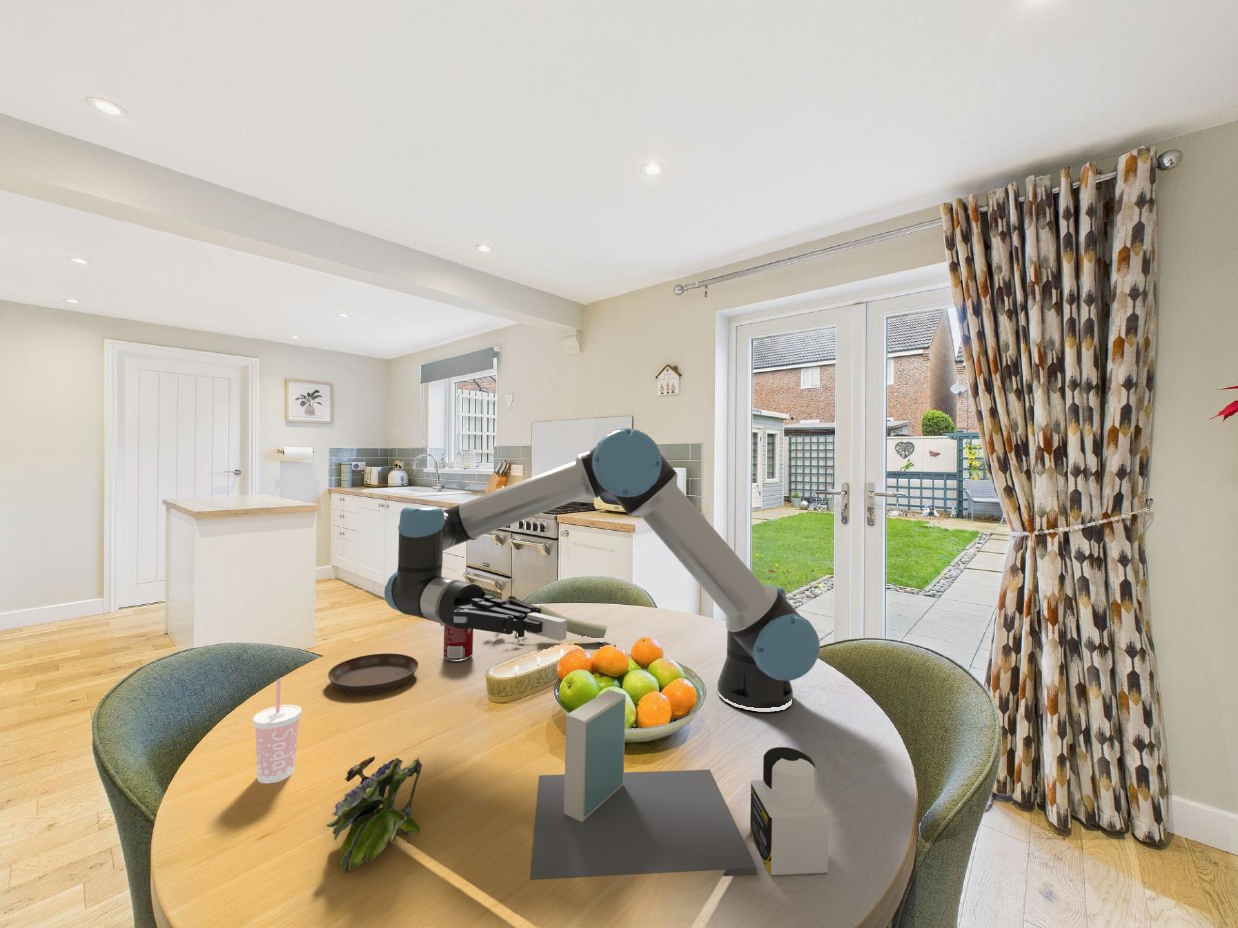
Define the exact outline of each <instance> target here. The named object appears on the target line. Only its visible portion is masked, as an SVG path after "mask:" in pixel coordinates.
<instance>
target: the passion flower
mask: <svg viewBox="0 0 1238 928" xmlns="http://www.w3.org/2000/svg"><path fill="white" fill-rule="evenodd" d="M375 760H376V756H370V757H368V758H366V759H364V760H362V761H360V763H359V764H355V765H354V766H352V767H351V768H349V769H348V770H347V772H346V773H347V774H346V776H345V777H344V780H346V782H350V781H352V780H353V779H354V778H356V777H357V776H359V777H360V779H361V781H360V783H359V785H358V786H356V785H355V786H354V787H353V788H352V789H351V790H350V791H349V792H347V793H346V794H344V798H343V799H341V800H339V801H338V802H337V803H336V804H335V805H334V808H335V811H334V812H333V813H332V814H330V815H331V816H332V815H333V817H335V816H337V817H336V818H335V819H334V820H333V821H330V822H328V823H327V824H326V827H327V828H333V830H332V834H333V835H334V836H333V839H334V840H333V841H337V839H338V837H339V836H340V835H341V833H342V831H344V830H346V829H347V828H348V827H349V826H350V828H349V830H348V832H347V834H346V836H345V838H344V840H343V844H342V847H341V851H340V854H339V865H340V868H341V869H340V870H341V871H342V872H343V873H346V870H347V865H348V871H350V872H351V871H354V870H355V869H357V868H358V867H360V866H361V865H363V863H364V862H371V861H373V860H374V859H375V858H377V857H378V856H379V855H380V854H381V853H382V852H383V850H384V849H386V847H387V846H388V843H390V842H391V843H395V841H396V839H397V834H398V832H399V829H401V830H403V831H404V832H405V833H406V835H408V836H409V835H410V834H419V833H421V827H420V826H419V824H418V823H417V822H416V821H415V819H413V818H412V816H411V815H412V808H413V806H412V805H413V804H412V803H413V798H414V795H415V792H416V787H417V784H418V781H419V777H420V775H421V772H422V767H423V764H422V762H421V761H420V758H419V757H417V758H416V759H414V760H413V761H412V763H411V764H410V765H408V766H406V767H404V768H401V766H402V764H403V760H402V759H400V758H398V757H396V758H393V759H391V760H390V761H388V763H387V762H386V763H383V765H382V766H379V767H378V769H377V770H376V771H375V772H374V773H372V774H371V775H370V776H366V775H365V774H364V772H363V771H364V770H365V769H366V768H367V767H368V766H369V765H370V764H372V763H373V762H374V761H375ZM414 774H416V776H415V780H414V781H413V782H414V783H413V786H412V789H411V793H410V796H409V798H408V801H407V803H406V805H405V806H404V807H403V808H402V809H400V808H396V807H395V799H396V797H397V795H398V793H399V790H400V788H401V786H402V784H404V782H405V781H406V780H407V779H408V778H412V777H413V776H414ZM387 787H388V790H387ZM386 790H387V796H386V797H385V794H386ZM389 841H390V842H389ZM406 842H407V844H409V843H410V841H406Z"/></svg>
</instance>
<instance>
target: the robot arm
mask: <svg viewBox="0 0 1238 928" xmlns="http://www.w3.org/2000/svg"><path fill="white" fill-rule="evenodd" d="M658 447H659V446H658V445H657V443H656V442H655V440H653V439H652V437H650V436H649V435H648V434H646V433H645V432H643V431H641V430H637V429H636V428H635V429H634V428H619V429H616V430H614V431H611V432H609V433H608V434H606V435H604V436H603V437H602V438H601V440H600V441H598V442H597V444H596V446H595V447H594V448H591V449H589V450H587V451H585V452H582V453H579V454H578V455H577V457H576V459H575V461H572V462H570V463H566V464H564V465H561V466H558V467H556V468H553V469H550V470H548V471H545V472H542V473H540V474H538V475H535V476H533V477H529V478H527V479H524V480H521V481H518V482H516V483H514V484H511V485H508V486H505V487H502V488H500V489H498V490H495V491H492V492H490V493H487V494H484V495H482V496H478V497H476V498H473V499H471V500H468V501H466V502H463V503H461V504H458V505H456V506H451V507H450V508H449V507H448V508H446V509H443V508H441V507H440V506H432V505H431V506H430V505H429V506H428V505H417V506H415V505H414V506H406V507H403V508H402V509H401V511H400V515H399V522H398V523H399V524H398V527H397V530H398V550H397V551H398V552H397V553H398V554H397V555H398V557H397V569H396V571H395V572H394V573H393V574H392V575H391V576H390V577H389V578H388V581H387V583H386V585H385V587H384V590H383V591H384V592H383V593H384V594H383V595H384V599H385V601H386V604H388V606H389V607H390V608H392V609H393V610H396V611H397V612H400V613H402V614H404V615H408V616H413V617H417V618H421V619H424V620H428V621H430V622H435V623H437V624H440V626H441V627H444V626H445V625H447V626H450V627H454V628H457V629H461V630H467V629H470V628H471V629H473V630H479V631H484V632H485V631H486V632H491V633H496V634H497V633H498V634H504V635H508V636H509V635H512V634H513V633H514V632H516V633H517V632H518V637H519V638H524V637H525V631H526V633H528V634H532V635H536V636H539V637H543V638H547V639H551V640H554V641H558V642H561V641H563V640H566V639H567V620H565V619H561V618H557V617H552V616H548V615H544V614H541V608H539V606H537V605H533V604H531V603H528V602H525V601H522V600H520V599H517V597H515V596H512V595H510V596H507V598H506V599H505V600H504V599H500V598H496V596H495V597H494V596H489V595H487V594H486V593H485V591H484V589H483V588H482V587H481V586H480V585H478V584H476V583H471V582H467V581H462V580H459V579H454V578H449V577H443V575H442V573H443V555H444V554H443V553H444V551H446V550H447V549H451V548H453V547H455V546H457V545H460V544H464V543H466V542H468V541H471V540H473V539H475V538H479V537H480V536H483V535H485V534H489V533H492V532H494V531H497V530H499V529H502V528H504V527H508V526H510V525H513V524H516V523H519V522H521V521H524V520H527V519H529V518H531V517H534V516H537V515H539V514H542V513H543V514H544V513H545V512H548V511H550V510H554V509H556V508H560V507H561V506H565V505H567V504H570V503H572V502H574V501H578V500H580V499H583V498H586V497H590V498H594V499H597V498H599V497H602V496H605V495H609V494H610V495H611V496H612V497H613V498H614V500H615V501H616V502H617V503H618V505H620V507H621V508H622V509H623V510H624V511H625V513H626V514H627V515H628V516H632V517H633V516H634V517H640V518H641V519H643V521H644V522H646V524H647V525H648V526H649V528H651V530H652V531H653V532H654V533H655V535H656V536H657V537H658V538H659V539H660V540H661V541H662V543H663V544H664V545H665V546H666V547H667V548H668V549H669V551H670V552H671V553H672V554H673V555H674V556H675V557H676V559H677V560H678V561H679V562H680V564H682V566H683V567H684V568H685V569H686V570H687V572H688V573H690V575H691V576H692V577H693V578H694V579H695V580H696V582H697V583H698V584H699V585H700V586H701V588H702V589H703V590H704V591H705V592H706V594H708V596H709V597H710V598H711V599H712V601H713V602H714V603H715V604H716V605H717V607H719V609H720V610H721V611H722V612H723V614H724V615H726V617H725V627H726V630H727V631H726V632H727V633H726V634H727V636H726V637H727V638H726V657H725V661H724V662H723V663H724V664H723V667H722V669H721V672H720V675H719V678H718V680H717V692H718V691H719V693H720V694H721V695H722V696H723V697H724V698H725V699H728V700H729V701H731V702H733V703H736V704H738V705H743V706H746V707H754V708H771V707H780V706H782V705H785V704H786V703H788V702H789V701H791V699H792V698H793V699H794V691H793V687H792V684H791V681H794V680H797V679H800V678H801V677H803V676H805V675H806V674H808V673H809V672H810V671H811V670H812V668H813V667H814V666H815V664H816V662H817V660H818V659H819V655H820V654H819V653H820V647H821V646H820V645H821V643H820V637H819V635H818V633H817V631H816V629H815V627H814V626H813V625H812V623H811V622H810V621H809V619H807V618H805V617H803V616H801V614H800V613H799V612H798V611H797V610H796V609H795V608H794V607H793V606H792V605H791V604H790V602H789V601H788V597H787V593H786V590H785V589H784V587H781V586H777V585H776V586H775V585H768V584H762V583H761V582H760V580H759V579H758V578H757V577H756V575H754V573H753V572H752V571H751V570H750V569H749V568H748V566H747V565H746V564H745V563H744V562H743V561H742V560H741V558H740V557H739V556H738V555H737V554H736V553H735V552H734V550H733V549H732V547H730V545H729V544H728V543H727V542H726V541H725V540H724V538H723V537H722V536H721V535H720V533H718V532H717V531H716V530H715V528H714V527H713V526H712V525H711V523H710V522H709V521H708V520H707V518H705V517H704V515H703V514H702V513H701V512H700V511H699V510H698V509H697V507H696V506H695V505H694V504H693V502H692V501H691V500H690V499H689V498H688V497H687V496H686V495H685V493H684V492H683V491H682V490H681V489H680V487H679V486H678V475H679V474H678V473H677V472H676V470H675V469H674V467H672V465H671V464H670V463H669V462H668V461H667V460H666V458H664V456H663V455H662V454H661V451H660V448H658Z"/></svg>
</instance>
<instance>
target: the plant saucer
mask: <svg viewBox="0 0 1238 928" xmlns="http://www.w3.org/2000/svg"><path fill="white" fill-rule="evenodd" d="M419 665H420V664H419V660H417V659H416V658H415V657H412V656H410V655H408V654H407V655H406V654H401V653H393V652H391V653H386V652H385V653H372V654H366V655H361V656H360V655H359V656H357V657H353V658H349V659H347V660H344V661H341V662H339V663H338V664H337V663H336V665H334V666H333V667H332V668H330V669H329V671H328V673H327V679H329V681H330V682H331V684H333V685H334V687H335V688H337V690H339V691H341V692H343V693H346V694H351V695H370V694H371V695H372V693H373V694H378V693H377V692H379V693H383V691H384V692H387V691H386V690H388V691H390V689H391V690H394V689H397V688H399V687H400V685H401V686H403V685H404V684H405V682H406V683H407V682H408V681H409V680H410V679H411V678H412V677H413V676H414V674H415V673H416V672H417V669H418V668H419ZM402 684H403V685H402ZM396 687H397V688H396ZM393 688H394V689H393Z"/></svg>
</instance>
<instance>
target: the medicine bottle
mask: <svg viewBox="0 0 1238 928" xmlns="http://www.w3.org/2000/svg"><path fill="white" fill-rule="evenodd" d="M762 758H763V764H762V766H763V768H762V770H763V771H762V779H752V780H751V783H750V812H749V814H750V821H749V822H750V823H749V835H750V837H751V839H752V841H753V844H754V845H755V847H756V850H757V852H758V854H759V856H760V858H761V859H762V862H763V864H764V866H765V869H766V870H767V873H768V874H769V875H770V876H791V875H793V876H794V875H812V874H813V875H814V874H827V873H828V871H829V839H830V838H829V837H830V835H829V833H830V831H829V830H830V829H829V827H830V824H829V823H830V814H829V811H828V810H827V809H826V808H825V806H824V805H823V803H822V801H820V799H819V798H818V797H817V795H816V794H815V791H816V790H815V784H816V782H815V781H816V776H815V775H816V766H815V762H814V761H813V760H812V758H811V757H810V756H809V755H808V754H806V753H805V752H803V751H801V750H798V749H795V748H791V747H786V746H777V747H772V748H770V749H768V750H767V751H766V752H765V753H764V754H763V757H762Z"/></svg>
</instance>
